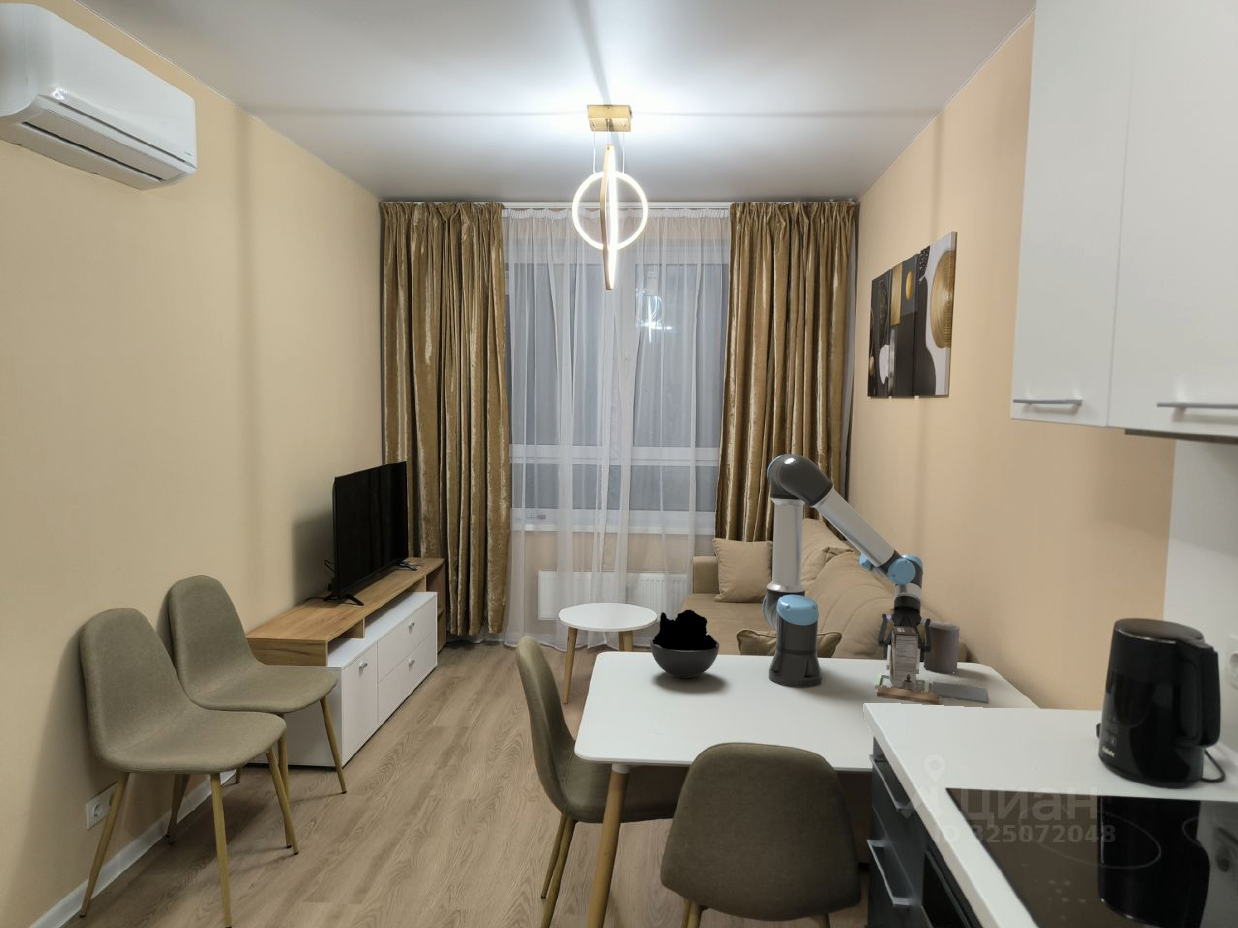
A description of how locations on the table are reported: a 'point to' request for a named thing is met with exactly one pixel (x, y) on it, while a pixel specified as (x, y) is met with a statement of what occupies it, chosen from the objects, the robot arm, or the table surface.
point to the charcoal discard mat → (960, 692)
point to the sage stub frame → (900, 687)
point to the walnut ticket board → (908, 695)
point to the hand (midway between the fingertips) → (902, 669)
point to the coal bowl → (684, 645)
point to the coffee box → (903, 657)
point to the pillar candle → (942, 648)
